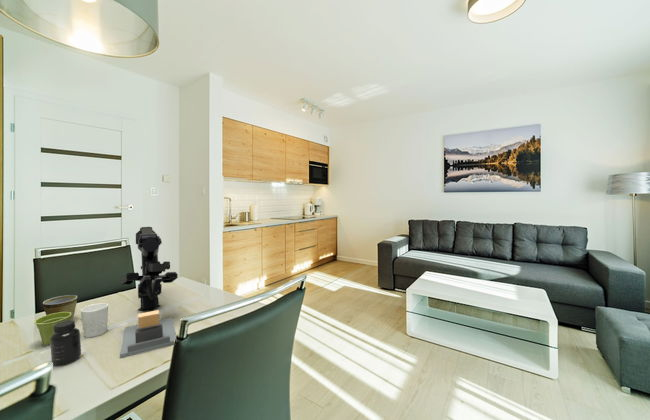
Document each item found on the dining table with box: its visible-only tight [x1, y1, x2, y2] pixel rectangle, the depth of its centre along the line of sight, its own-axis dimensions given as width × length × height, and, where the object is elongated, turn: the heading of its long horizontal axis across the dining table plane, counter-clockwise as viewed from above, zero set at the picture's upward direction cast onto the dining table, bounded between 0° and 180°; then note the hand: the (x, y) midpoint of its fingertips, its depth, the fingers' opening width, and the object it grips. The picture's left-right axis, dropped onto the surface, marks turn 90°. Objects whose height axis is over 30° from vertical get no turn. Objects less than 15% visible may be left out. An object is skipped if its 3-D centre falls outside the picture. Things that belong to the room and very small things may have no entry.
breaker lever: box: [137, 309, 161, 330], centre depth 95 cm, size 2×7×7 cm
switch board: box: [119, 317, 177, 359], centre depth 100 cm, size 21×16×5 cm
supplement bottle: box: [49, 319, 82, 367], centre depth 86 cm, size 7×7×12 cm
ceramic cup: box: [42, 294, 78, 320], centre depth 110 cm, size 13×10×10 cm
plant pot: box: [33, 312, 71, 346], centre depth 97 cm, size 9×9×9 cm
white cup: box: [80, 302, 109, 338], centre depth 102 cm, size 8×8×10 cm
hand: (152, 299), depth 106 cm, fingers closed
